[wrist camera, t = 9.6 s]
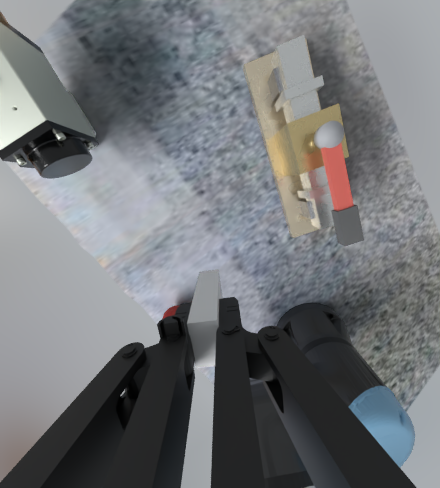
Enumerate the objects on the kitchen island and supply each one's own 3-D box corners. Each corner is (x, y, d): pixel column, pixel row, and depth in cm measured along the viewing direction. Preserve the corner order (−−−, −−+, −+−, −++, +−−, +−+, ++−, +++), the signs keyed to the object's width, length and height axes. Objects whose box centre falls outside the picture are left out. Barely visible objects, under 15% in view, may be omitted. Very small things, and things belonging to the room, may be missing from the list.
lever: (311, 129, 28) (317, 125, 26) (334, 120, 27) (342, 116, 26) (336, 243, 32) (343, 246, 30) (357, 236, 31) (365, 239, 30)
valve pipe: (340, 219, 42) (381, 231, 31) (290, 236, 43) (313, 253, 32) (302, 44, 35) (339, -19, 24) (243, 69, 36) (252, 19, 25)
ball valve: (23, 85, 36) (-152, -2, 19) (63, 57, 35) (-84, -61, 18) (87, 184, 41) (-9, 184, 24) (125, 162, 40) (53, 144, 22)
